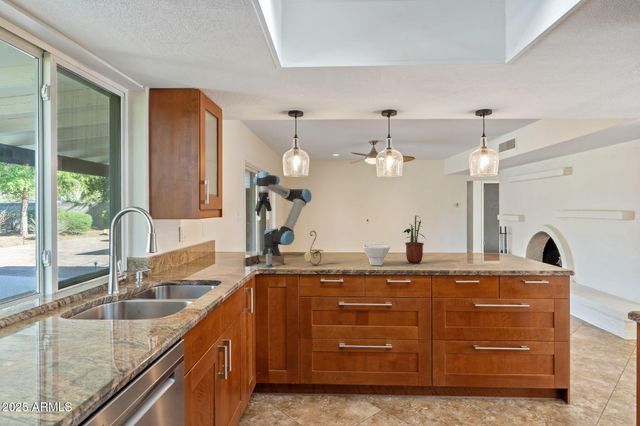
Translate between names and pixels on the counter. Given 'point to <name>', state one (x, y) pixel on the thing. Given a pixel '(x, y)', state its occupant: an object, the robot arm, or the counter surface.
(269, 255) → the angle bracket
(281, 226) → the robot arm
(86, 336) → the counter surface
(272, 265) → the mat
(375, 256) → the bowl
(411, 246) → the potted plant
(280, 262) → the corner walls
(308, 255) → the wall sconce
